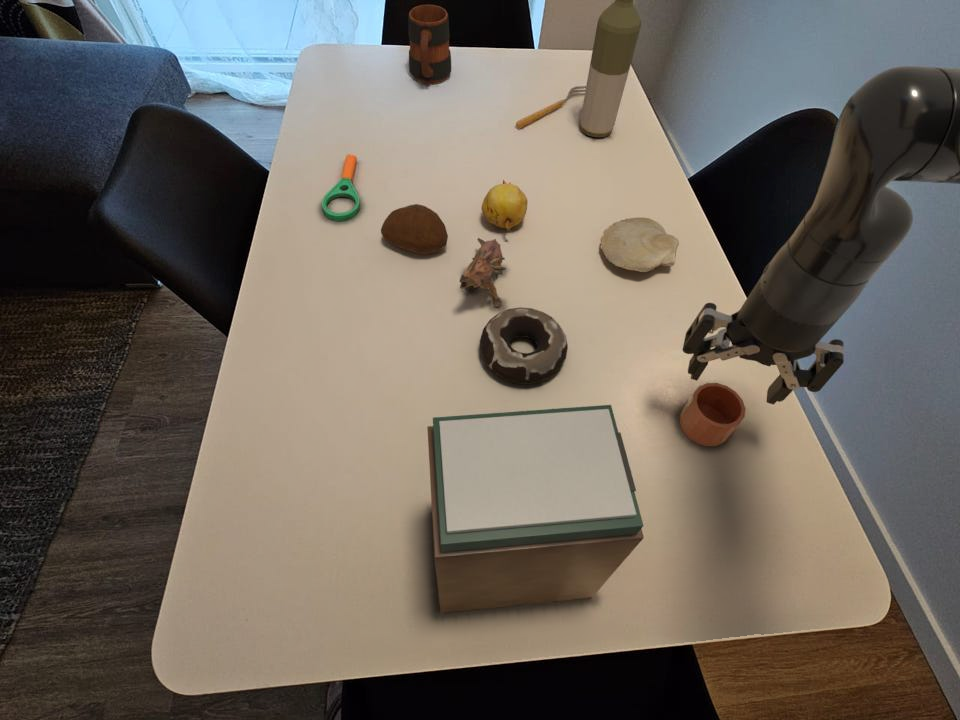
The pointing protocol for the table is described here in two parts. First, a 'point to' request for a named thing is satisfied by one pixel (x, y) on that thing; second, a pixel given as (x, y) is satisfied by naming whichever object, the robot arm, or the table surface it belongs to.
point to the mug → (429, 44)
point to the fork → (549, 107)
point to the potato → (415, 229)
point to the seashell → (639, 244)
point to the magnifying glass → (343, 192)
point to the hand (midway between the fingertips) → (731, 385)
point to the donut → (516, 363)
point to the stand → (522, 567)
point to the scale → (532, 478)
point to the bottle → (609, 67)
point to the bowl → (712, 414)
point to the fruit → (504, 205)
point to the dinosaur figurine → (484, 269)
